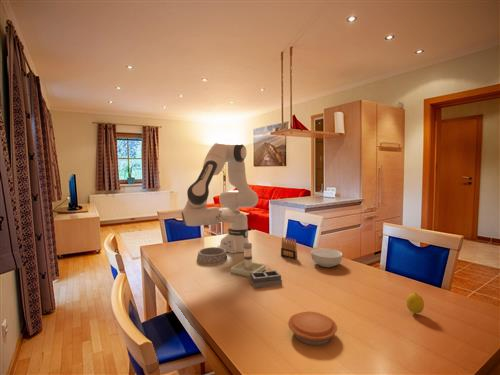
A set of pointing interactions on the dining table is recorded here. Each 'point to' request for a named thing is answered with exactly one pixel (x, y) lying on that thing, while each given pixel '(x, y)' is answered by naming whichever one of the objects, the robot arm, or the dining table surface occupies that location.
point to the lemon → (415, 303)
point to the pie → (312, 327)
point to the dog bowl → (211, 255)
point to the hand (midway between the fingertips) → (241, 213)
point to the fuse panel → (265, 279)
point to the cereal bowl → (326, 257)
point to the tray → (240, 270)
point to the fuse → (248, 256)
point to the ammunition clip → (289, 248)
